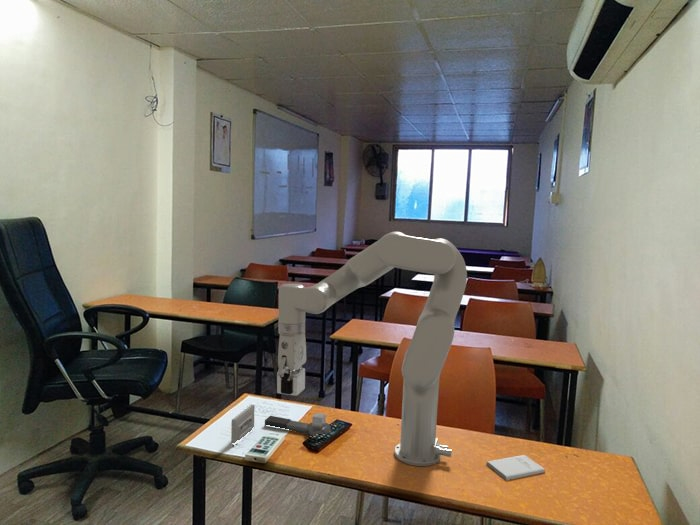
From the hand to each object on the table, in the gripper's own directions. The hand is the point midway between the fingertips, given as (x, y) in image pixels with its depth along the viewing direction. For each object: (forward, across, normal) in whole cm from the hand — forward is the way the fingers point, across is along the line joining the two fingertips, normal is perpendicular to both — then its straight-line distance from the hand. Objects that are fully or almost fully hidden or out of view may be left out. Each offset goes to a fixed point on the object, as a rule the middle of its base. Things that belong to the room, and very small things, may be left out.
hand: (291, 388), depth 141 cm
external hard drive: (+17, +6, -62) cm, 64 cm away
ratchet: (+15, +6, 0) cm, 16 cm away
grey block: (+1, 0, 0) cm, 1 cm away
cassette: (+15, -4, +13) cm, 21 cm away
